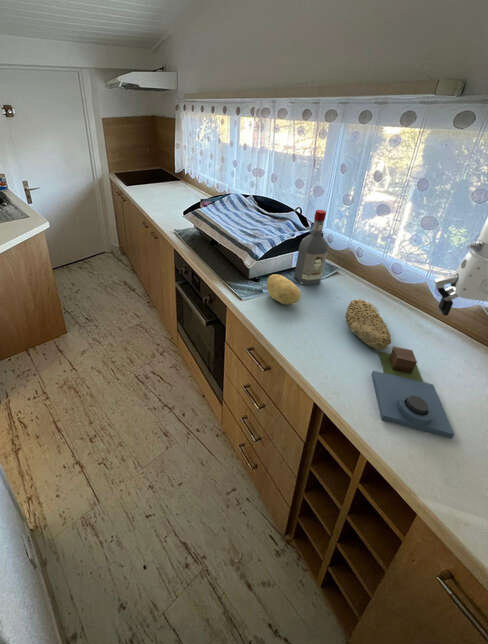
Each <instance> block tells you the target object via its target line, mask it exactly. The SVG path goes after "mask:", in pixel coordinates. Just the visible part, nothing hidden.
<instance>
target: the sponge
mask: <svg viewBox="0 0 488 644" xmlns="http://www.w3.org/2000/svg"><path fill="white" fill-rule="evenodd" d="M379 311H380V310H379V309H378V307H376V306H375V305H374V304H373V303H371V302H368V301H365V300H364V299H360V298H358V299H353V300H350V302H349V304H348V305H347V308H346V313H345V321H346V324H347V327H348V328H349V329H350V331H351V332H352V333H353V334H354V335H356V336H357V337H358V338H359V339H360V340H361V341H362V342H364V343H365V344H366V345H367V346H369V347H371V348H373V349H375V350H387V348H388V346H389V345H390V344H392V335H391V332H390V330H389V328H388V326H387V324H386V323H385V321H384V318H382V316H381V314H380V313H379Z"/></svg>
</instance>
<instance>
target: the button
mask: <svg viewBox="0 0 488 644" xmlns="http://www.w3.org/2000/svg"><path fill="white" fill-rule="evenodd" d="M406 406H407V408H408V409H409V410H410V411H412V412H413V413H415V414H417V415H425V414H426V412H427V410H428V404H427V403H426V402H425V401H424V400H423V399H422V398H420V397H418V396H409V397H408V399H407V401H406Z"/></svg>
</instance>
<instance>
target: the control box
mask: <svg viewBox="0 0 488 644" xmlns="http://www.w3.org/2000/svg"><path fill="white" fill-rule="evenodd" d="M371 379H372V384H373V387H374V393H375V397H376V402H377V406H378V410H379V415H380V420H381V421H383V422H388V423H391V424H396V425H399V426H402V427H406V428H410V429H414V430H418V431H421V432H424V433H429V434H432V435H436V436H438V437H439V436H440V437H442V438H447V439H453V438H454V437H455V434H456V433H455V432H454V429H453V427H452V424H451V423H450V420H449V417H448V416H447V413H446V411H445V408H444V407H443V404H442V401H441V399H440V397H439V395H438V392H437V390H436V387H435V385H434V384H433V383H429V382H424V381H423V382H421V381H416V380H412V379H408V378H403V377H399V376H394V375H390V374H386V373H384V372H381V371H378V370H377V371H376V370H372V372H371ZM409 396H418V397H420V398H422V399H423V400H424V401H425V402H426V403H427V404H428V410H427V412H426V414H425V415H417V414H415V413H413V412H412V411H410V410H409V409H408V408H407V406H406V401H407V399H408V397H409Z"/></svg>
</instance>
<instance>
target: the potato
mask: <svg viewBox="0 0 488 644" xmlns="http://www.w3.org/2000/svg"><path fill="white" fill-rule="evenodd" d="M266 290H267V292H268V295H269V297H271V298H272V299H273V300H275V301H276V302H278V303H279V304H282V305H285V306H286V305H295V304H297V303H298V302H300V300H301V297H302V293H301V290H300V289H299V287H298V286H297V285H296V284H295V283H294V282H292V281H291V280H290V279H288V278H287V277H285V276H283V275H281V274H278V273H277V274H273V273H272V274H271V275H269V276H268V277H267V281H266Z"/></svg>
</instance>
